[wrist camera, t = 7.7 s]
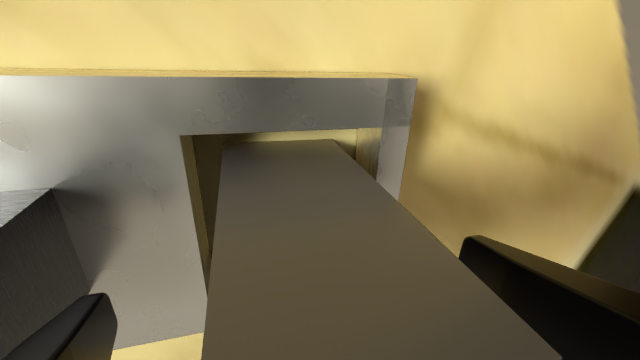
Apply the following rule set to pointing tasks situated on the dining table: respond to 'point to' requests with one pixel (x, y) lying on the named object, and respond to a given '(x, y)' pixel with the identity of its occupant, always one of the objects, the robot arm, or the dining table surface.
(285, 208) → the plug
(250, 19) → the dining table surface
